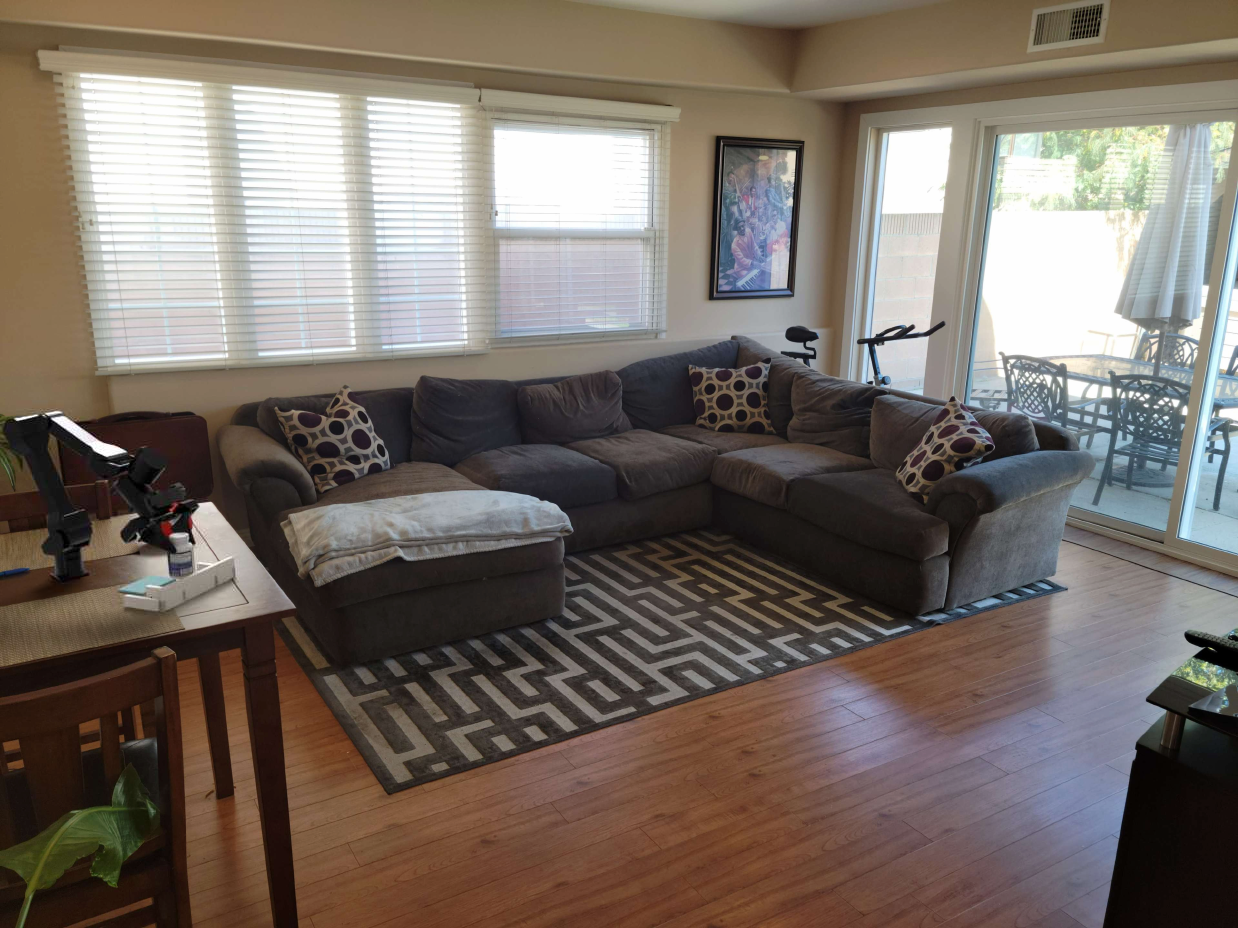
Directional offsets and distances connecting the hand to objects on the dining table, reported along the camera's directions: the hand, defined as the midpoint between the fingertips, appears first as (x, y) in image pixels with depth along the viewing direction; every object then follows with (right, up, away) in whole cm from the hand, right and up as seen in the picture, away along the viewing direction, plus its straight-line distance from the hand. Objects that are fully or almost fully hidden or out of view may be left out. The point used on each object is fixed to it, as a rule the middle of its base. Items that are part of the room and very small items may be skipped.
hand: (185, 548), depth 202 cm
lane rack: (-2, -10, +3) cm, 11 cm away
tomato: (-22, -2, +36) cm, 42 cm away
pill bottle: (-2, -7, +2) cm, 7 cm away
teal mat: (-11, -9, +6) cm, 16 cm away
